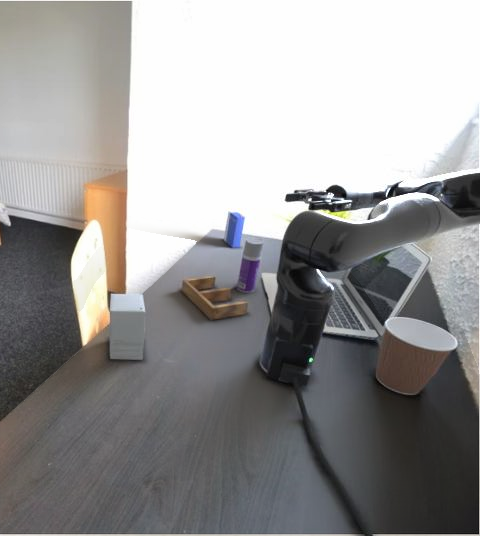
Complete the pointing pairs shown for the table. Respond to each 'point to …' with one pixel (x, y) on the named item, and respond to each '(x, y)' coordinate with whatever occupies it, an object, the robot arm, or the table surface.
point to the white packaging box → (127, 326)
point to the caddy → (212, 298)
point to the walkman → (234, 229)
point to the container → (250, 265)
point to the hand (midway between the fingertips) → (297, 202)
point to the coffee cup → (411, 354)
